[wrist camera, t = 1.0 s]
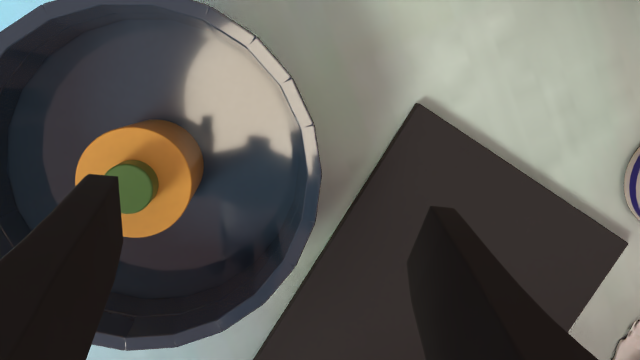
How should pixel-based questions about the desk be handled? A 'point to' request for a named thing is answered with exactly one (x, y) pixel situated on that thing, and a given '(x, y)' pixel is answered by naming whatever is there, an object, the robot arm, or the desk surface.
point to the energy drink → (633, 184)
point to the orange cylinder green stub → (147, 172)
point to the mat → (401, 233)
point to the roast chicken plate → (629, 345)
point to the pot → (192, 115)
